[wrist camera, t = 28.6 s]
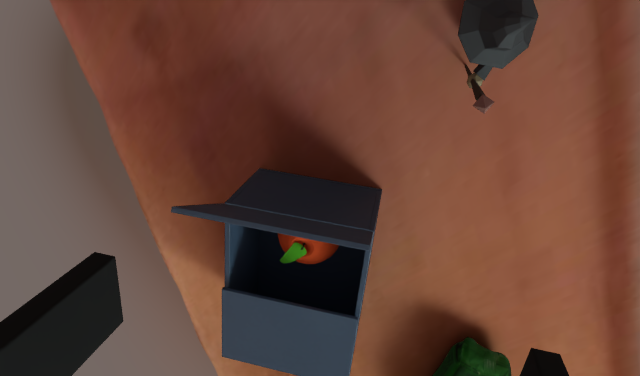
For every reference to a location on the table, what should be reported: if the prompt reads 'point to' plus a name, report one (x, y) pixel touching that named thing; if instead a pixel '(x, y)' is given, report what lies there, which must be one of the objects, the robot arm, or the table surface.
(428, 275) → the table surface
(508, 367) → the snack package
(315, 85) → the table surface
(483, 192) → the table surface
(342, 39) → the table surface
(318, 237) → the flap
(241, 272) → the carton
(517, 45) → the wizard figurine
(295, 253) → the clementine
